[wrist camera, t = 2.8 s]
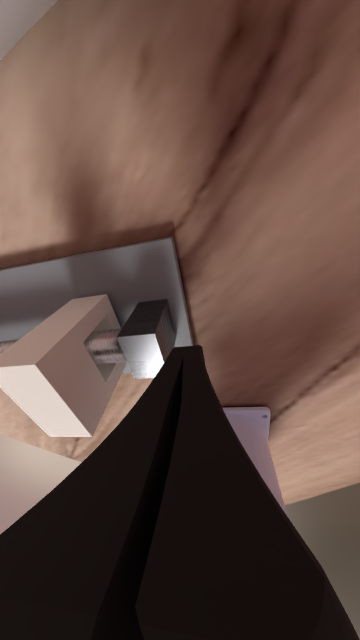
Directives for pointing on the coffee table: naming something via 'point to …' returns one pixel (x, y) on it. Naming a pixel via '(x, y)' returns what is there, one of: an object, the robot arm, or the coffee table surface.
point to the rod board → (124, 295)
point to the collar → (63, 369)
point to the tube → (19, 20)
